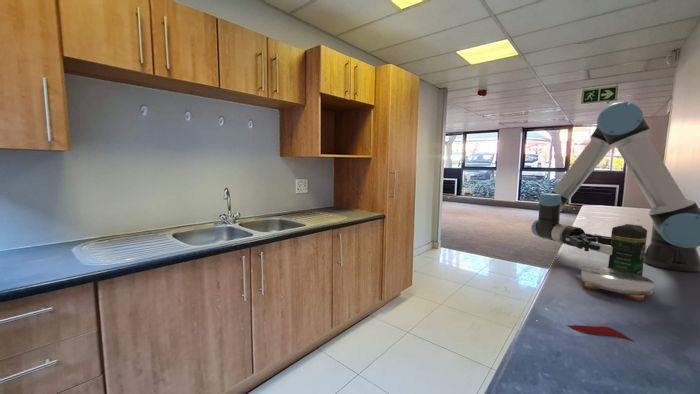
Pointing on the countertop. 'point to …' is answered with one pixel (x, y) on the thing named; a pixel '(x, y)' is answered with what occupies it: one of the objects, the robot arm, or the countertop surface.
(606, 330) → the curved red sliver
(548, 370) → the countertop surface
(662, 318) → the countertop surface
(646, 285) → the plate
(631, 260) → the coffee jar
